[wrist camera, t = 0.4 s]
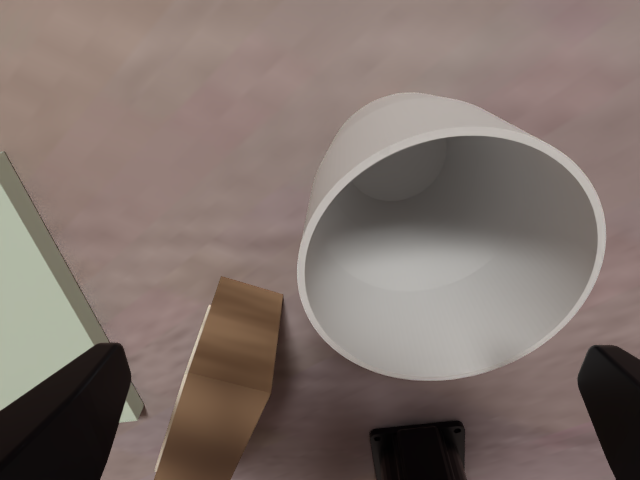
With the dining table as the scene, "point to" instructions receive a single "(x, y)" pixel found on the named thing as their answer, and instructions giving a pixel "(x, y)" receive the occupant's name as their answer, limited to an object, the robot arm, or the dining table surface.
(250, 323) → the brown wooden block
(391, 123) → the cup
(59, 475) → the robot arm
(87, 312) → the ledge board
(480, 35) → the dining table surface
